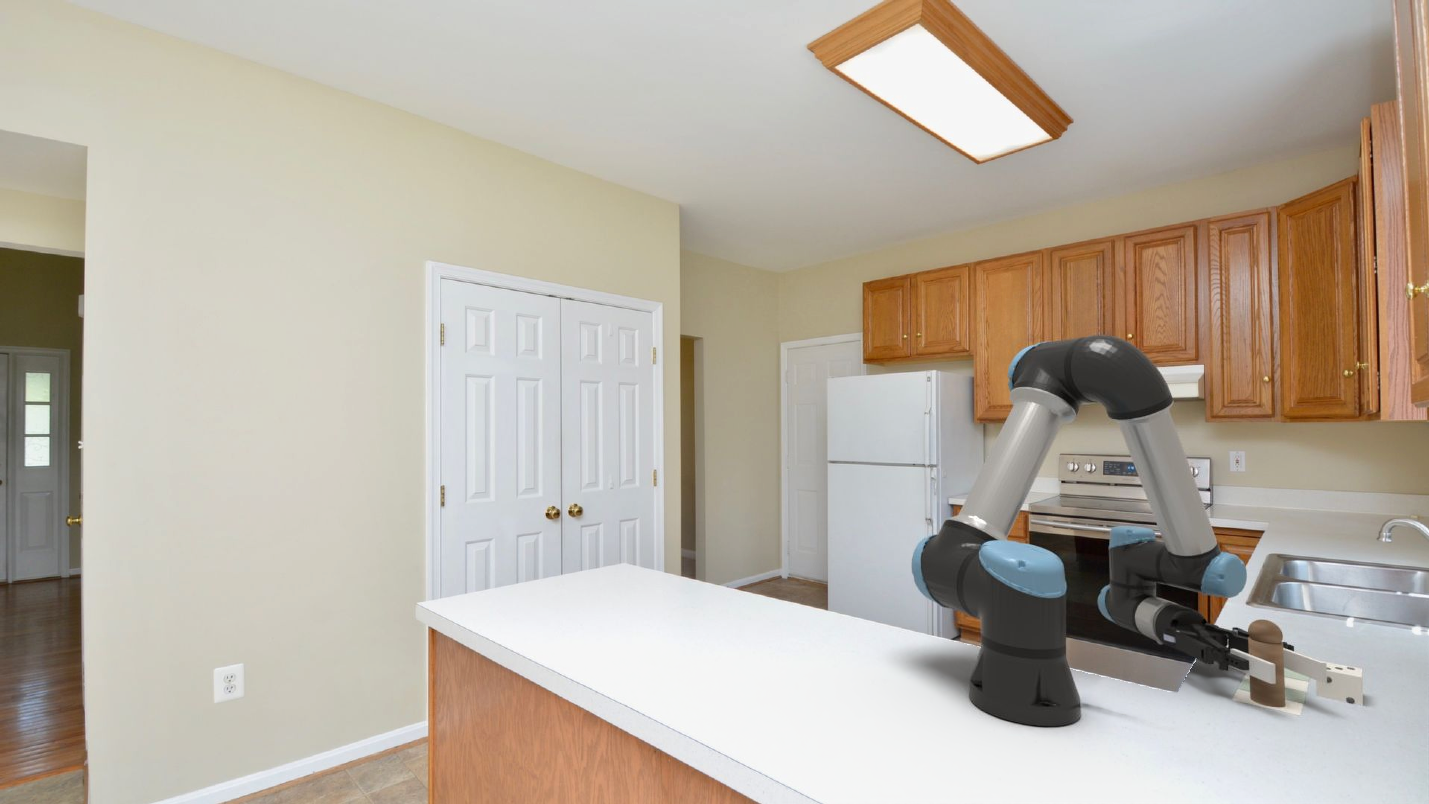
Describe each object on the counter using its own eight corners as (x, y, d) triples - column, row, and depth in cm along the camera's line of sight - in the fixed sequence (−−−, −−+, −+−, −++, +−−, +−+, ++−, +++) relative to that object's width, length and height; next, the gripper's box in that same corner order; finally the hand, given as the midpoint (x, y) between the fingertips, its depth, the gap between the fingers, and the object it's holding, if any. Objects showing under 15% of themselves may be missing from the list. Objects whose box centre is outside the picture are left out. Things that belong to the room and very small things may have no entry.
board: (1228, 704, 98) (1228, 699, 98) (1254, 656, 119) (1254, 651, 119) (1304, 722, 92) (1303, 717, 92) (1317, 668, 113) (1316, 663, 113)
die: (1316, 701, 100) (1315, 668, 100) (1318, 692, 103) (1317, 659, 103) (1363, 711, 96) (1361, 676, 96) (1363, 701, 100) (1362, 668, 100)
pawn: (1248, 701, 97) (1245, 619, 98) (1252, 693, 100) (1249, 614, 101) (1283, 709, 94) (1280, 625, 95) (1286, 701, 97) (1283, 620, 98)
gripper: (1225, 645, 116) (1364, 698, 93) (1119, 647, 114) (1233, 702, 92) (1224, 602, 116) (1362, 645, 94) (1118, 604, 115) (1232, 647, 92)
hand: (1298, 673), depth 93 cm, fingers open, 7 cm apart
